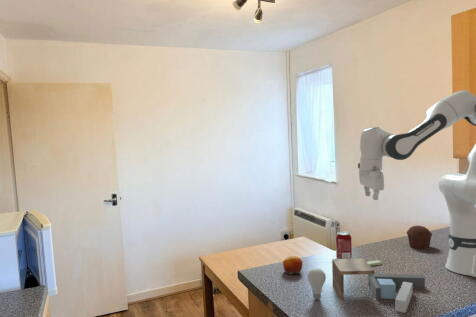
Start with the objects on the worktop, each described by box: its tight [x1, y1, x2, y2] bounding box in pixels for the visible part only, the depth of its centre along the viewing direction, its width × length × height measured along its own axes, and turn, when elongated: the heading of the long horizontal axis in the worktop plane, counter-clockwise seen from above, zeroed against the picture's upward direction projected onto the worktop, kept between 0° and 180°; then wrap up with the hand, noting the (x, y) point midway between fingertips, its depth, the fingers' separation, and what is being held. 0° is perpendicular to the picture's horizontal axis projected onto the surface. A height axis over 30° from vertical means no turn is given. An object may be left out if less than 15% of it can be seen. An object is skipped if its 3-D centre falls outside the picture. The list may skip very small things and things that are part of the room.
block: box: [377, 279, 397, 300], centre depth 125 cm, size 5×5×5 cm
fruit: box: [282, 255, 303, 276], centre depth 149 cm, size 8×8×8 cm
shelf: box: [331, 258, 376, 301], centre depth 128 cm, size 12×12×10 cm
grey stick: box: [394, 282, 414, 314], centre depth 120 cm, size 16×3×4 cm, turn 147°
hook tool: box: [367, 273, 426, 300], centre depth 128 cm, size 19×13×4 cm
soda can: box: [335, 230, 353, 259], centre depth 163 cm, size 7×7×12 cm
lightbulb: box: [307, 267, 327, 301], centre depth 124 cm, size 6×6×11 cm
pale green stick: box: [366, 259, 382, 267], centre depth 154 cm, size 14×2×2 cm, turn 106°
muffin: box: [406, 225, 433, 250], centre depth 177 cm, size 12×11×10 cm
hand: (371, 197), depth 153 cm, fingers open, 8 cm apart
